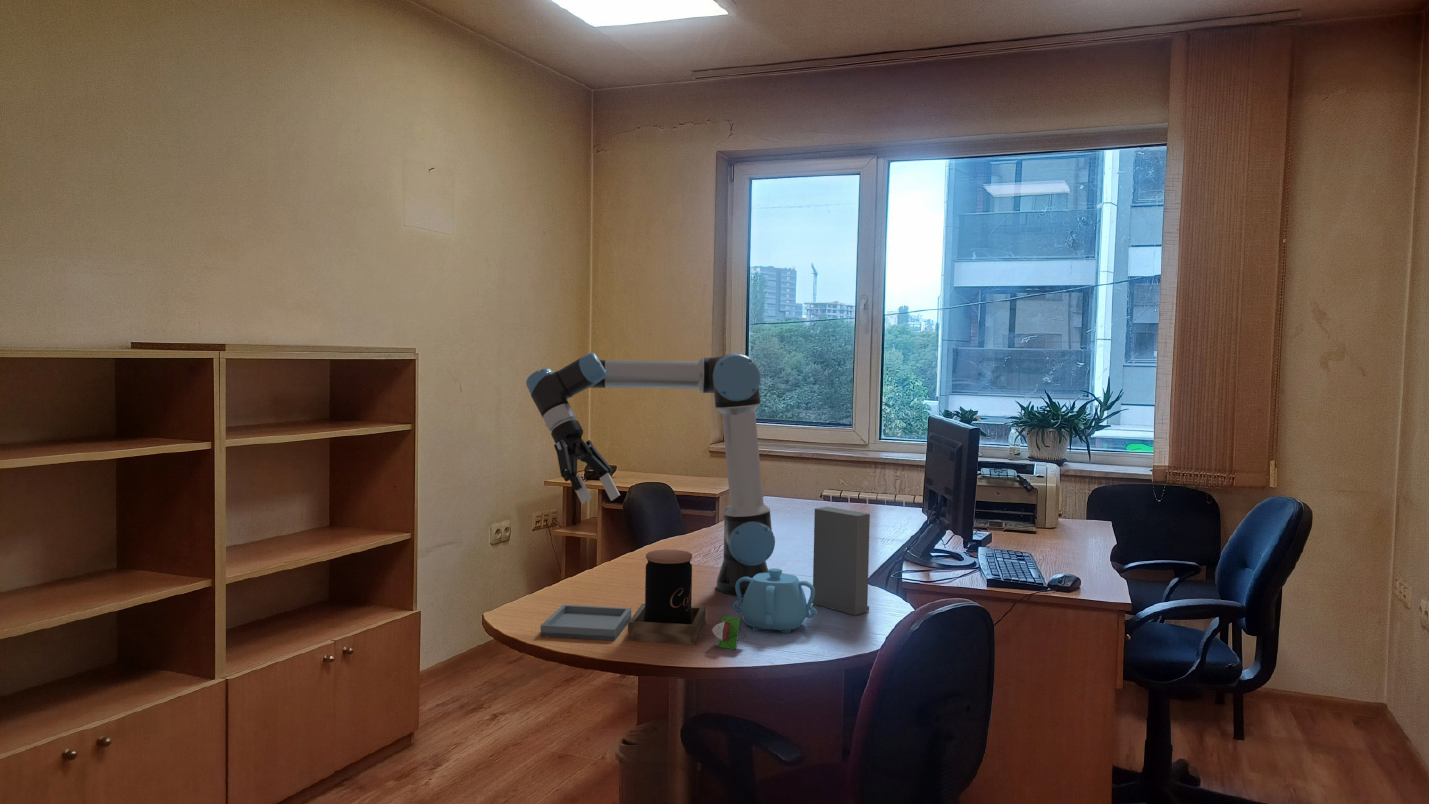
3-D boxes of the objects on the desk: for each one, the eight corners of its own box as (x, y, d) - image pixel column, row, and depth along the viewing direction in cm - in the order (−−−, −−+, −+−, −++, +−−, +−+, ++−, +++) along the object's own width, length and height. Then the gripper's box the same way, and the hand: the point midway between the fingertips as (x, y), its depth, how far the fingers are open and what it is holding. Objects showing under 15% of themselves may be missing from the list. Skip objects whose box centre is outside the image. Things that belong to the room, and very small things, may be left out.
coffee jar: (673, 642, 192) (675, 562, 191) (635, 633, 197) (636, 555, 197) (699, 630, 201) (701, 553, 200) (662, 622, 206) (663, 547, 206)
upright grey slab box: (869, 611, 218) (872, 513, 217) (855, 616, 214) (857, 516, 213) (826, 600, 228) (828, 506, 227) (811, 604, 224) (813, 508, 223)
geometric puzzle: (723, 628, 195) (715, 605, 191) (752, 632, 193) (744, 609, 188) (713, 655, 190) (705, 632, 186) (742, 659, 188) (735, 636, 183)
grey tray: (631, 618, 209) (631, 608, 209) (614, 640, 192) (614, 629, 192) (563, 614, 211) (563, 604, 211) (540, 636, 194) (540, 625, 194)
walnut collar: (705, 623, 206) (705, 606, 206) (696, 644, 190) (696, 626, 190) (641, 620, 208) (642, 603, 207) (627, 640, 192) (627, 622, 192)
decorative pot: (787, 613, 216) (788, 559, 215) (821, 631, 201) (822, 573, 201) (728, 620, 209) (729, 564, 208) (759, 640, 194) (760, 580, 194)
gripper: (579, 434, 229) (615, 503, 224) (523, 433, 206) (562, 510, 201) (600, 419, 227) (637, 489, 222) (546, 416, 204) (586, 494, 199)
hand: (601, 499), depth 211 cm, fingers open, 13 cm apart
